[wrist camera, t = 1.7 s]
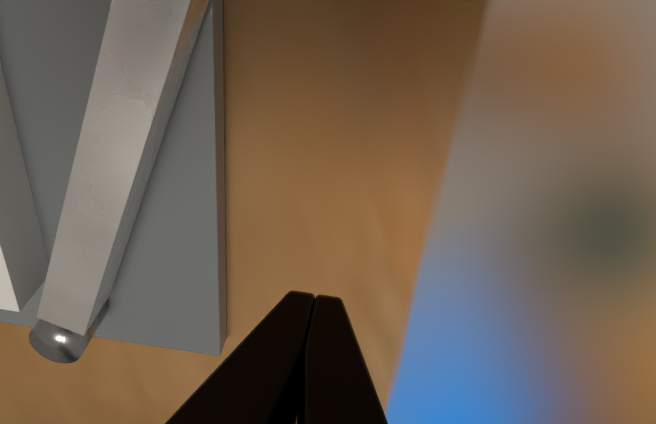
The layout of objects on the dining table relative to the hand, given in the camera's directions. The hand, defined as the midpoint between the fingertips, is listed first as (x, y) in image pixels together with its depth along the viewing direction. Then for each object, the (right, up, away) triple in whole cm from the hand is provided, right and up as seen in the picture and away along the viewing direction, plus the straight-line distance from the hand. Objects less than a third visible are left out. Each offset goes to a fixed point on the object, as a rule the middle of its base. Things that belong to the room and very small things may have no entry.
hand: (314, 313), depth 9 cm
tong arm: (-6, +3, +8) cm, 11 cm away
